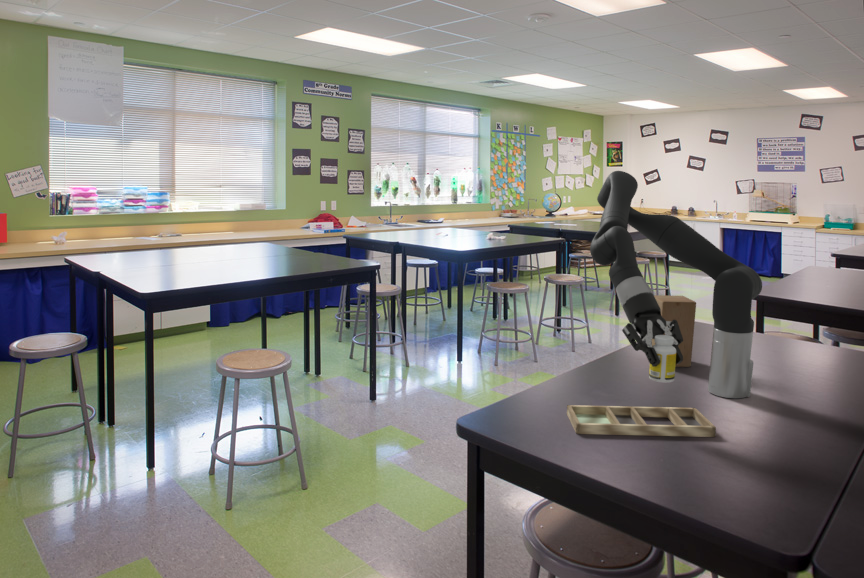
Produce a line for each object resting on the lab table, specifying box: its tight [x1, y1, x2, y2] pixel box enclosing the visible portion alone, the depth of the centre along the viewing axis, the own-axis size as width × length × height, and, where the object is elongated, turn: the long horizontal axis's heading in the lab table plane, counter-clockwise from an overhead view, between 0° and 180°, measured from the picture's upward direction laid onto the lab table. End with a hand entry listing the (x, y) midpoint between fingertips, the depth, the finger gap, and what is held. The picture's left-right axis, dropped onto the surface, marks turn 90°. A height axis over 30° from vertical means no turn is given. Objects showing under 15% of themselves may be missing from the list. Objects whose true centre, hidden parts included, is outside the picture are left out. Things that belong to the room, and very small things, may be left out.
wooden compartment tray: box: [566, 404, 717, 438], centre depth 140 cm, size 30×12×2 cm, turn 88°
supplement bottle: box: [648, 335, 676, 384], centre depth 137 cm, size 5×5×10 cm
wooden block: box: [652, 294, 697, 368], centre depth 187 cm, size 10×10×20 cm
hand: (668, 363), depth 135 cm, fingers closed on supplement bottle, 5 cm apart
